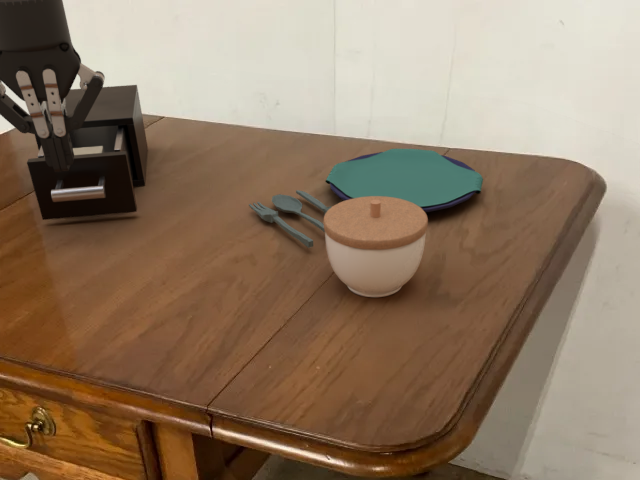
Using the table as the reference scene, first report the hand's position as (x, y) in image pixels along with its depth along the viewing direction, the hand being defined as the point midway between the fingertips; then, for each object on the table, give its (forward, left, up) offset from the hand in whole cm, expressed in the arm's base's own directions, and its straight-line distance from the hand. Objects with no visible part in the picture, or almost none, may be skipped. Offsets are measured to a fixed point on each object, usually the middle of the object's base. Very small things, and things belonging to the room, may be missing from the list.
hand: (63, 168), depth 83 cm
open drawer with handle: (0, +14, -10) cm, 17 cm away
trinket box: (+32, -12, -11) cm, 36 cm away
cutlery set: (+36, +9, -11) cm, 39 cm away
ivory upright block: (0, +15, -9) cm, 18 cm away
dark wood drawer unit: (0, +28, -11) cm, 30 cm away
